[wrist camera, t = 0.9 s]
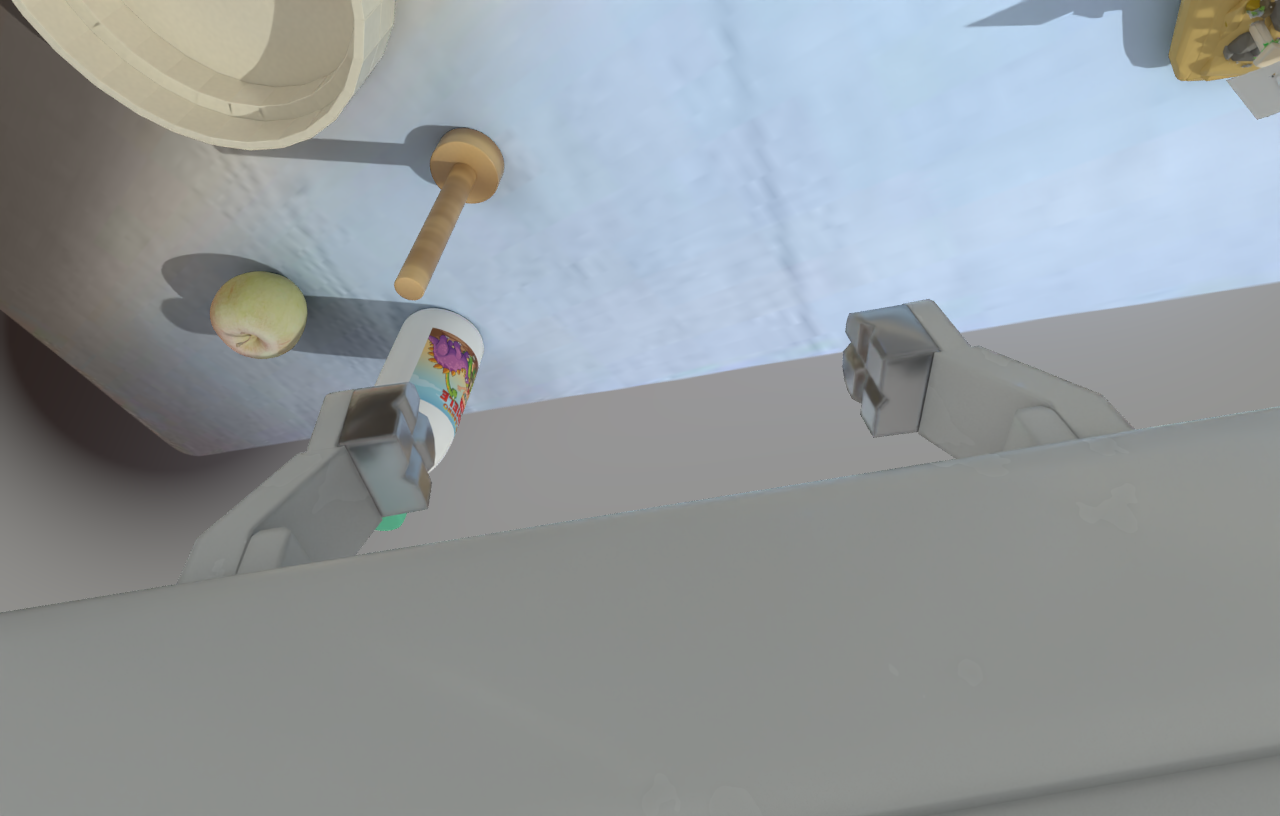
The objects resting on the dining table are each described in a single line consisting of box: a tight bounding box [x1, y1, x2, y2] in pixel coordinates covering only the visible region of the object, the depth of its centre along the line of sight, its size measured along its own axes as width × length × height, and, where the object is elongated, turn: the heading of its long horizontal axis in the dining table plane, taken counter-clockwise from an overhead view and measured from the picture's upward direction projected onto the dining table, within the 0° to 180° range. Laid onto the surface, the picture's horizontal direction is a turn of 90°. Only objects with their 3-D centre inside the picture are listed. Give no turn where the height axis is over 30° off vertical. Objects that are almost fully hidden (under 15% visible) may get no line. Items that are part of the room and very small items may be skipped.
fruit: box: [210, 271, 307, 359], centre depth 63 cm, size 8×7×8 cm
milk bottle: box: [375, 308, 484, 531], centre depth 62 cm, size 8×8×20 cm
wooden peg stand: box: [394, 128, 504, 300], centre depth 49 cm, size 5×5×15 cm
